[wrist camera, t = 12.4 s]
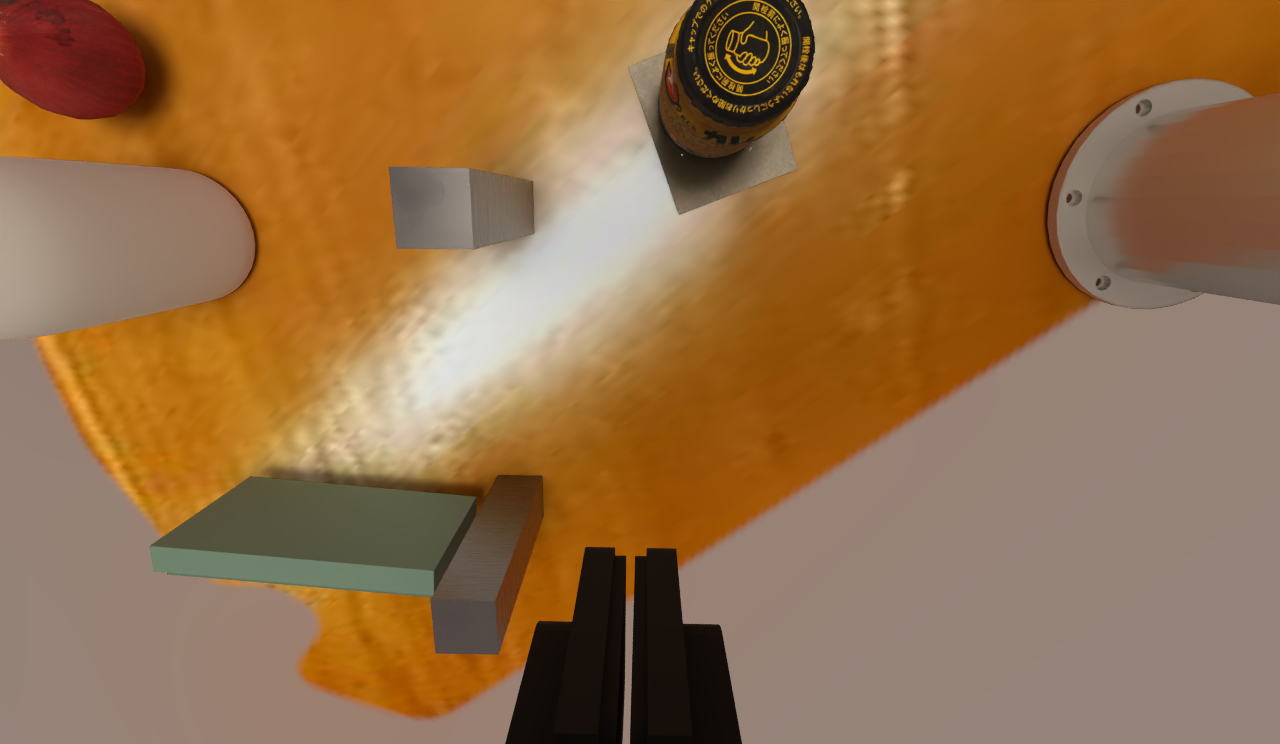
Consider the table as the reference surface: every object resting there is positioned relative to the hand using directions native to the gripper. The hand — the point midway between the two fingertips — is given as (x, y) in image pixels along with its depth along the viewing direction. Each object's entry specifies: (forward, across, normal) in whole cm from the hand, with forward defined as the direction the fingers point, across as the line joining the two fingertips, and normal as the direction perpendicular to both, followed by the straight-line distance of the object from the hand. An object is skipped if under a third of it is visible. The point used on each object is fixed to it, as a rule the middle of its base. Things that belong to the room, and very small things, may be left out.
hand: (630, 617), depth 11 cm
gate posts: (+27, +8, +2) cm, 28 cm away
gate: (+25, +18, +11) cm, 33 cm away
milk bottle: (+27, +27, -5) cm, 39 cm away
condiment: (+27, -4, -12) cm, 30 cm away
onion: (+27, +29, -14) cm, 42 cm away
